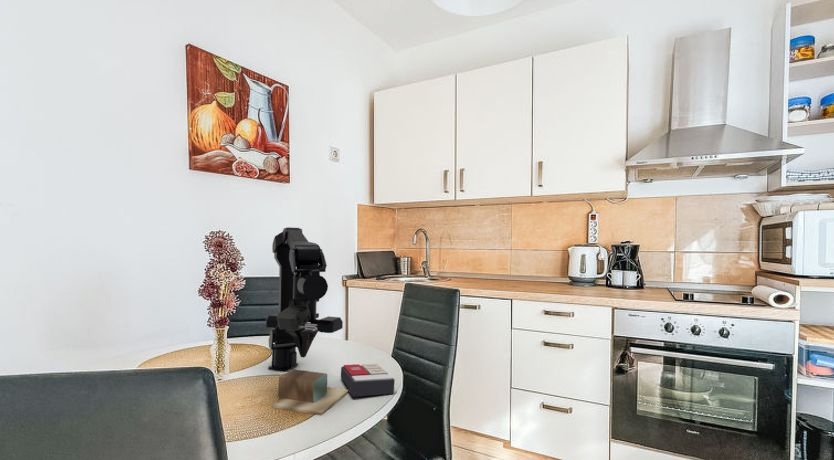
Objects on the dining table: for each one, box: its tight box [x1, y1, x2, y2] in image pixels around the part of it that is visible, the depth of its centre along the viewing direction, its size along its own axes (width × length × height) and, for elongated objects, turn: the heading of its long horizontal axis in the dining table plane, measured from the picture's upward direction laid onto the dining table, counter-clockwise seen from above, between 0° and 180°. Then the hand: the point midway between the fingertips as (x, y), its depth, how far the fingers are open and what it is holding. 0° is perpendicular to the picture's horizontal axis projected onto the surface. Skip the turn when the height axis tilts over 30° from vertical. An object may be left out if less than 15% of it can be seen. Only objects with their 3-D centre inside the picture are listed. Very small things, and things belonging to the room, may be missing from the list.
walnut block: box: [277, 368, 328, 403], centre depth 96 cm, size 5×6×10 cm
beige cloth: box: [271, 386, 350, 416], centre depth 95 cm, size 13×14×1 cm
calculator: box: [340, 363, 395, 398], centre depth 104 cm, size 11×4×15 cm
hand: (303, 357), depth 96 cm, fingers closed
